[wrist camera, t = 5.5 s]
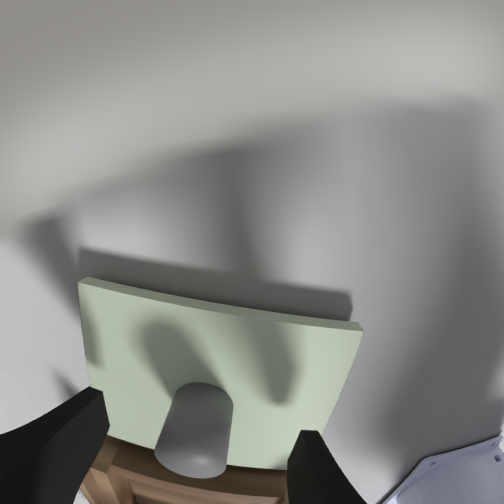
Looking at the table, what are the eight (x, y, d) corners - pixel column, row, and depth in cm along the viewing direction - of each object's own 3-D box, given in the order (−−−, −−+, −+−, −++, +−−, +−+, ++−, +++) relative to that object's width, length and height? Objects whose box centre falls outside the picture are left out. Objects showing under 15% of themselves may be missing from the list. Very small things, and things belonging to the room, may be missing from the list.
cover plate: (301, 460, 12) (307, 516, 9) (107, 424, 12) (80, 472, 9) (358, 322, 10) (395, 383, 6) (87, 276, 10) (27, 315, 6)
